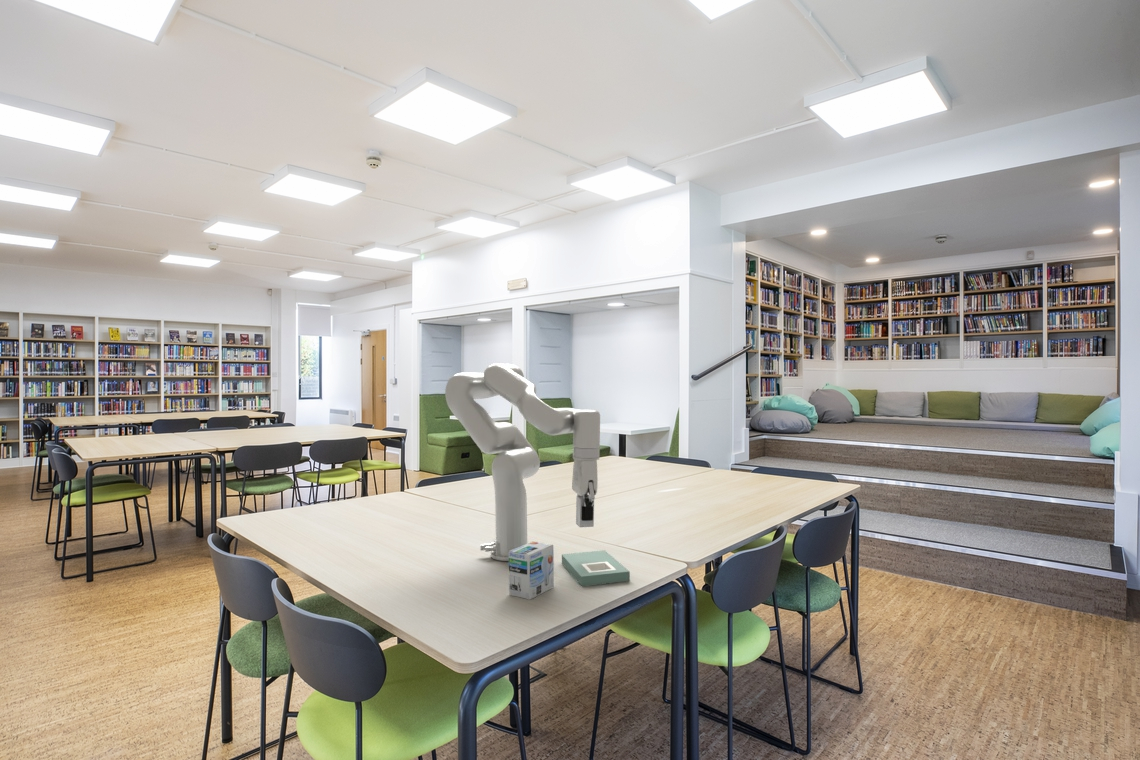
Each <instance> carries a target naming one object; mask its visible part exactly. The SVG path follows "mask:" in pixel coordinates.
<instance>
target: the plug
mask: <svg viewBox="0 0 1140 760" xmlns="http://www.w3.org/2000/svg"><path fill="white" fill-rule="evenodd" d="M587 498H588V497H586V499H587ZM593 502H594V503H595V500H594V501H593ZM575 505H576V506H575V507H576V508H575V510H576V511H575V524H576V525H577V527H578V528H594V524H595V523H594V522H595V505H594V506H593V520H592V521H582V506H583V496H577V495H576V504H575Z"/></svg>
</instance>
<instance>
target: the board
mask: <svg viewBox="0 0 1140 760" xmlns="http://www.w3.org/2000/svg"><path fill="white" fill-rule="evenodd" d="M561 564H562V565H563V567H564V568H566V570H567V571H568V573H569V574H570V575H571V576H572V577H573V578H574V579H575V581H576V582H577V583H578V585H580V586H582V587H589V585H591V586H597V584H600V585H606V583H609V584H614V583H613V582H618V583H622V582H621V581H626V582H630V581H631V576H630V575H631V572H630V570H628V569H627V568H626V567H625V566H624V565H623V564H622V563H620V562H619V561H618V560H617V559H616V558H615V557H613V556H612V555H611V554H610V553H609V552H608V551H606V550H605V549H603V550H593V551H584V552H574V553H572V552H571V553H564V554H563V553H562V554H561Z"/></svg>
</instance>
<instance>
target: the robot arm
mask: <svg viewBox="0 0 1140 760" xmlns="http://www.w3.org/2000/svg"><path fill="white" fill-rule="evenodd" d="M444 390H445V392H444V393H445V395H444V396H445V401H446V404H447V407H448V408H449V409H450V411H451V413H452V414H453V415H454V417H455V418H456V420H457V421H459V422H460V424H461V426H463V428H464V429H465V431H466V432H467V433H468V435H469V436H470V438H471V439H472V441H473V442H474V443H475V444H476V446H477V447H478V449H479V450H480V452H483V454H485V455H493V454H494V455H495V454H497V455H495V456H494V458H493V460H492V463H491V475H492V482H493V485H494V486H493V487H494V504H495V505H494V506H495V507H494V508H495V509H494V510H495V512H494V513H495V538H494V539H493V541H492V542H490V543H480V546H479V551H480V552H482V551H484V552H487V553H488V552H490V557H491V558H492V559H494V560H496V561H501V562H509V551H510V550H513V549H516V548H518V547H520V546H523V545H525V544H528V543H529V542H528V498H527V490H526V487H525V484H524V481H523V480H525V479H528V478H531V477H533V476H534V475H536V474H537V473H538V471H539V469H540V465H541V461H540V460H541V459H540V457H539V454H538V453H537V451H536V450H535V448H534V447H533V446H532V444H531V443H530V442H529V441H528V439H527V438H526V436H525V435H524V434H523V433H522V431H521V430H520V429H519V428H518V427H517V426H516V425H514V424H513V423H510V422H507V421H500V422H497V421H495V420H494V418H492V417H491V415H490V414H489V413H488V412H487V410H486V408H484V407H483V406H482V405H481V404H479V403H478V402H477V401H476V400H480V399H489V398H492V397H496V396H500V397H502V398H503V399H505V400H506V401H508V402H509V403H510V404H511V405H513V406H515V407H516V408H517V409H518V411H519V413H520V414H521V416H522V417H523V418H524V420H526V422H528V424H531V425H532V426H533V427H535V428H536V429H537V430H539V431H540V432H541V433H544V434H546V435H548V436H560V435H565V434H572V459H573V466H572V467H573V468H572V469H573V470H572V479H571V480H572V481H571V489H572V491H573V492H575V494H577V495H576V497H577V496H583V506H582V521H592V520H593V506H594V507H595V499H596V497H595V496H596V495H597V494H598V484H599V483H598V481H599V480H598V460H600V445H601V444H600V443H601V441H600V440H601V439H600V438H601V414H600V412H599V411H598V410H595V409H577V408H573V407H557V408H556V407H552V406H550V405H548V404H547V403H546V402H544V401H542V400H541V399H540V398H539V397H538V396H537V395H536V394H537V387H536V385H535V384H534V383H533V382H531V381H529V380H528V379H527V378H526V377H525V375H524V373H523V371H522V369H521V368H520V367H519V366H518V365H515V364H513V363H500V362H499V363H492V364H490V365H489V366H487V367H486V369H485V370H484V372H469V371H468V372H459V373H456V374H453V375H452V376H451V377H450V378H448V380H447V382H446V385H445V389H444ZM586 497H588V498H587V499H586ZM593 501H594V502H593Z"/></svg>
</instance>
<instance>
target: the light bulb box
mask: <svg viewBox="0 0 1140 760" xmlns="http://www.w3.org/2000/svg"><path fill="white" fill-rule="evenodd" d="M554 558H555V557H554V545H553V544H551V543H544V542H538V541H531V542H528V544H525V545H523V546H520V547H518V548H516V549H513V550H510V551H509V561H508V591H509V592H508V594H509V596H514V597H518V598H522V599H526V600H532V599H534V598H535V597H538V596H540V595H541V594H544V593H546V592H547V591H549V590H551V589H553V588H554V587H555V583H554V582H555V571H554V570H555V569H554V567H555V563H554V562H555V561H554Z"/></svg>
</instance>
